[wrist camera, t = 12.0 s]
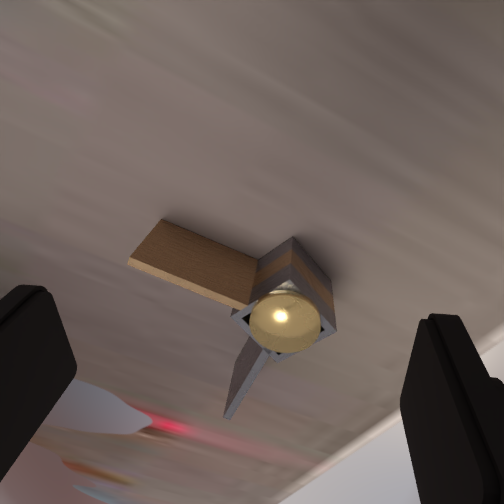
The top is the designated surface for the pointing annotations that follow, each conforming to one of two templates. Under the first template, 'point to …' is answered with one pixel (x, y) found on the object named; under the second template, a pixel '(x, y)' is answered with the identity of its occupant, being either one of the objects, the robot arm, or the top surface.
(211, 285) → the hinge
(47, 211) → the top surface
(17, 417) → the robot arm
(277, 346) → the gold rounded cylinder
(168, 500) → the top surface
